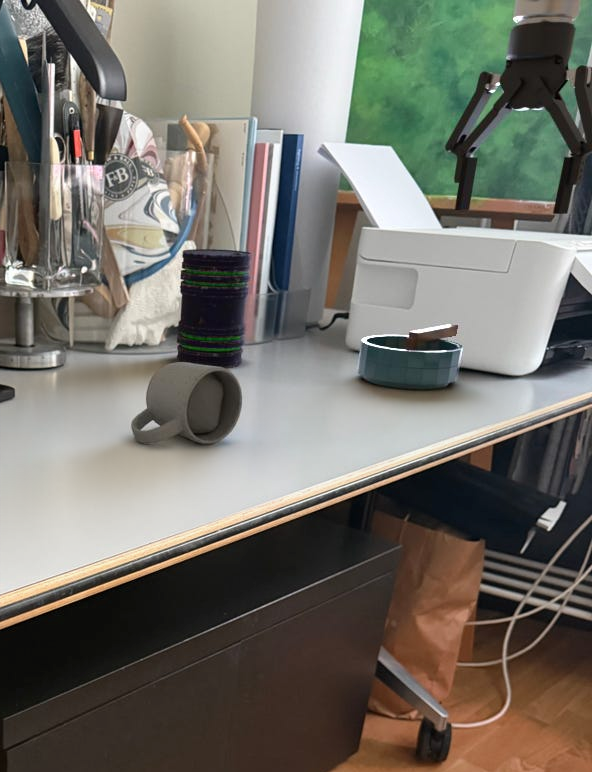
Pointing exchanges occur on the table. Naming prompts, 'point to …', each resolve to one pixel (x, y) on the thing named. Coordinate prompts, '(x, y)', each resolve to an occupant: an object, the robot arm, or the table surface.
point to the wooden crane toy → (429, 335)
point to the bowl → (409, 362)
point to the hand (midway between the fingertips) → (509, 212)
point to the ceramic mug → (190, 404)
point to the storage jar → (213, 307)
